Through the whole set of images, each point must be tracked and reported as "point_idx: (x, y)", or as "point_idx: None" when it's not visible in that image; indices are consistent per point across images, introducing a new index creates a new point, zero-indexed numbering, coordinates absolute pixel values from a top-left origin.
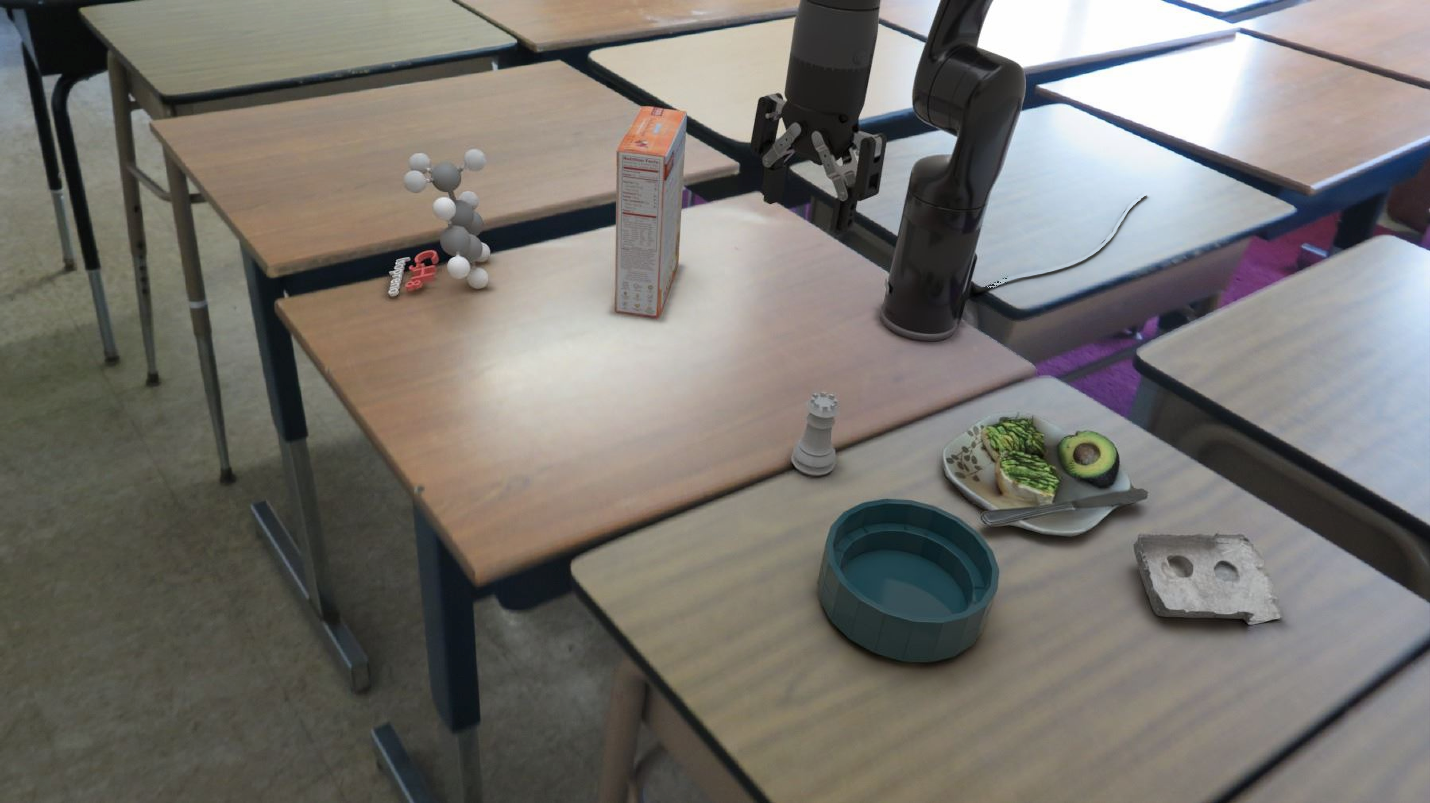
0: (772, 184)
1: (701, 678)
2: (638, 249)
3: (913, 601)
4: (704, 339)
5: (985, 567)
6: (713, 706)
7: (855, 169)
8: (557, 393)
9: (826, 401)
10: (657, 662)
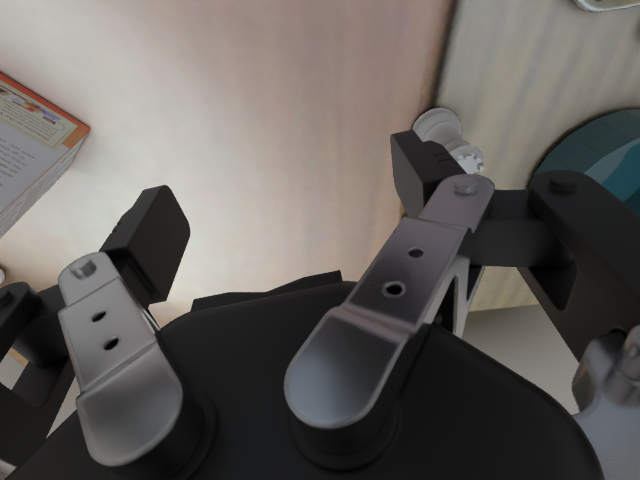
0: (174, 262)
1: (510, 298)
2: (22, 207)
3: (609, 174)
4: (156, 96)
5: None
6: (526, 300)
7: (470, 241)
8: (218, 270)
9: (467, 165)
10: (484, 309)
